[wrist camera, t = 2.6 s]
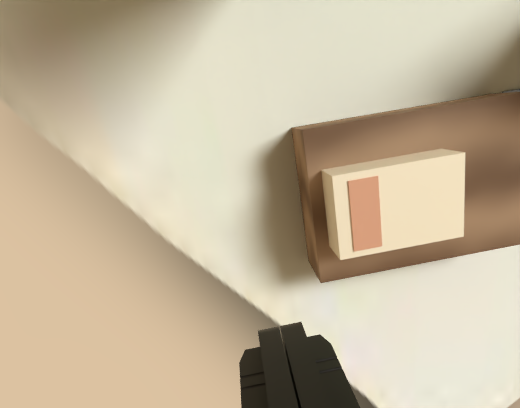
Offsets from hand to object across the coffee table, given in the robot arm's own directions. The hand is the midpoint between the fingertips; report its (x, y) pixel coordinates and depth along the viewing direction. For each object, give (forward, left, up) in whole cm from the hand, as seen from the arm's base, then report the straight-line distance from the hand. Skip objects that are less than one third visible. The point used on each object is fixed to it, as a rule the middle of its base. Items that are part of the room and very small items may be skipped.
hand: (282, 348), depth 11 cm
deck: (0, +13, -17) cm, 22 cm away
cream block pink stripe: (0, +10, -13) cm, 17 cm away
